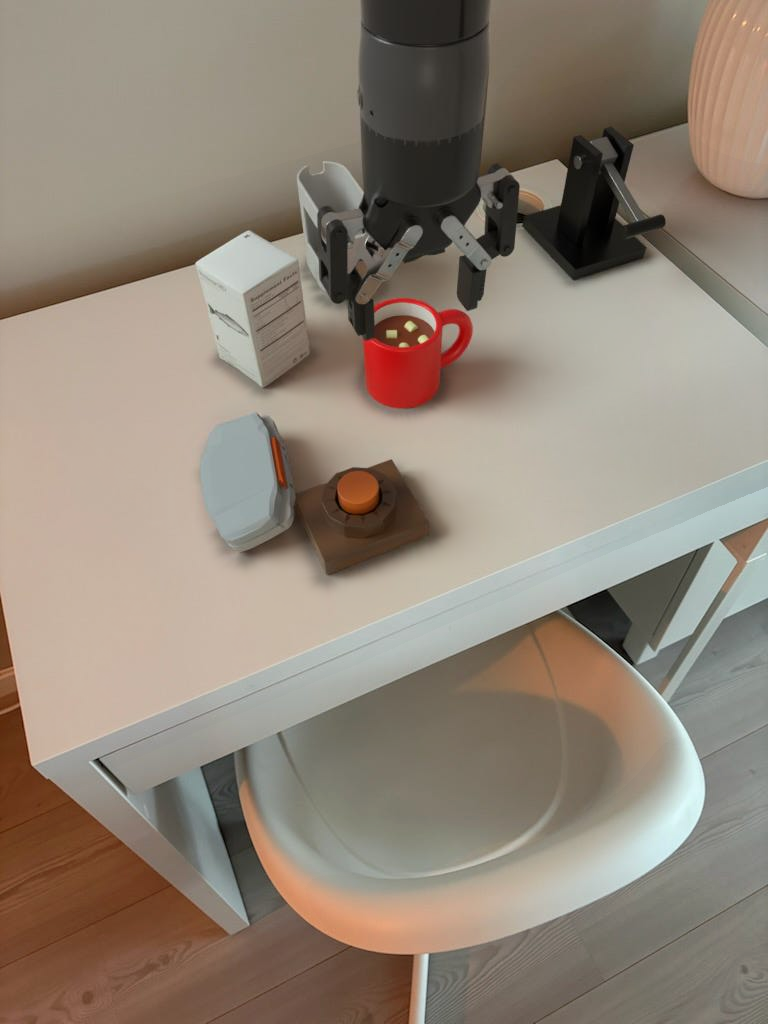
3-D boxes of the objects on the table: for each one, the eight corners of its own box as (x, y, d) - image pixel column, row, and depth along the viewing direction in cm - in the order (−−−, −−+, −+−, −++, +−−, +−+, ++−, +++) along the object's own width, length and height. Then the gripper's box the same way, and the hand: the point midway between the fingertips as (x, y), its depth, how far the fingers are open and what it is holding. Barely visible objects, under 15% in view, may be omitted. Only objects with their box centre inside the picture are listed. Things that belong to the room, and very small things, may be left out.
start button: (385, 506, 66) (385, 494, 64) (348, 520, 65) (346, 509, 64) (369, 477, 68) (368, 465, 66) (332, 490, 67) (331, 478, 65)
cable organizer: (333, 318, 86) (324, 225, 76) (299, 257, 93) (286, 164, 83) (387, 303, 87) (385, 209, 77) (349, 244, 94) (343, 151, 84)
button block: (428, 535, 68) (429, 509, 65) (326, 575, 66) (322, 551, 63) (392, 473, 72) (391, 446, 69) (295, 508, 70) (289, 482, 67)
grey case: (222, 562, 67) (304, 532, 66) (206, 547, 65) (290, 515, 64) (208, 444, 76) (280, 415, 75) (193, 426, 73) (268, 396, 72)
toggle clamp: (643, 257, 91) (674, 155, 81) (572, 280, 89) (595, 178, 78) (589, 206, 97) (611, 106, 87) (521, 226, 95) (536, 125, 85)
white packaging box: (218, 359, 82) (191, 260, 72) (268, 325, 85) (249, 226, 75) (262, 391, 79) (241, 293, 69) (313, 354, 82) (300, 256, 72)
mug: (486, 378, 80) (494, 320, 73) (386, 418, 77) (385, 361, 70) (449, 334, 84) (453, 275, 77) (353, 370, 81) (348, 312, 74)
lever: (659, 233, 83) (669, 218, 81) (621, 245, 82) (630, 230, 80) (609, 149, 86) (617, 133, 84) (571, 160, 85) (579, 143, 83)
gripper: (332, 161, 41) (348, 376, 54) (559, 106, 44) (522, 323, 57) (288, 99, 45) (313, 313, 58) (499, 53, 48) (477, 267, 61)
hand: (416, 318), depth 58 cm, fingers open, 8 cm apart
